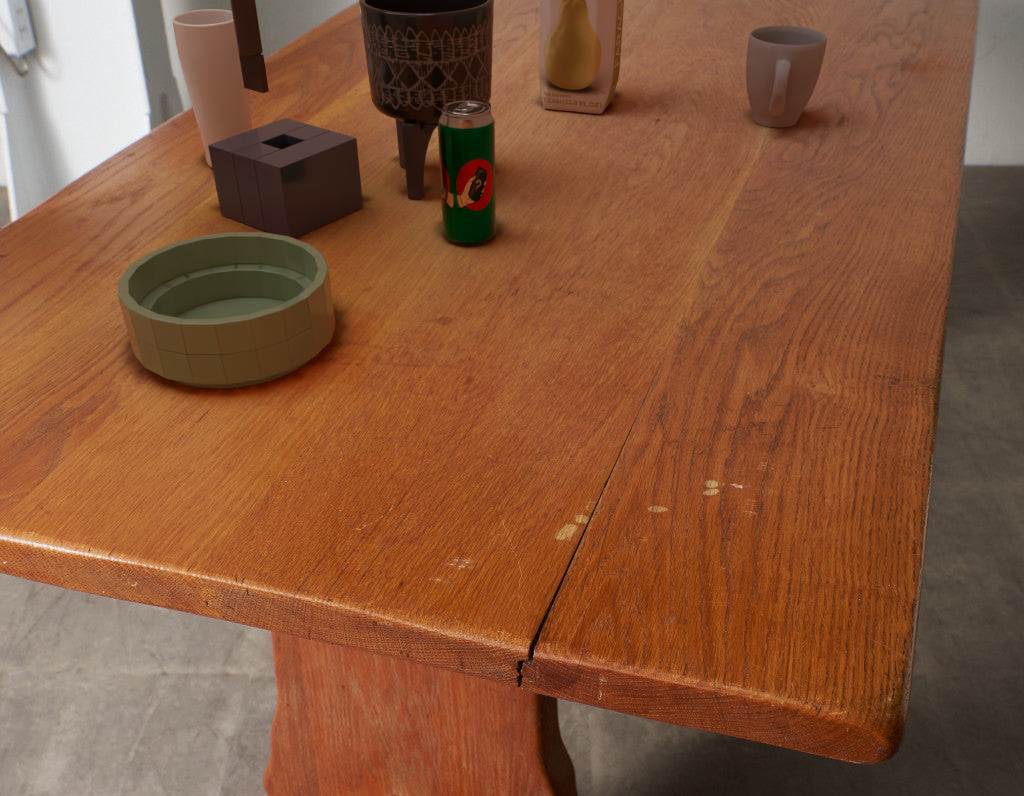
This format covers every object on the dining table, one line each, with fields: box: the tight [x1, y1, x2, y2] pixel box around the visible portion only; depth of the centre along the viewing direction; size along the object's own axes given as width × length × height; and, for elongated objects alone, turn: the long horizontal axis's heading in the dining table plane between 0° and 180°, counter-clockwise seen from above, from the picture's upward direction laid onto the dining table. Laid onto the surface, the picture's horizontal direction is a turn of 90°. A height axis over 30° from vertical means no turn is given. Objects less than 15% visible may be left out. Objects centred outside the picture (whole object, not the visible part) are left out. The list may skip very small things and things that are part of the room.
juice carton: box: [538, 0, 625, 115], centre depth 119 cm, size 9×8×24 cm
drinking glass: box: [172, 8, 253, 169], centre depth 107 cm, size 7×7×15 cm
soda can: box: [437, 101, 497, 247], centre depth 93 cm, size 5×5×12 cm
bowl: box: [117, 231, 337, 389], centre depth 79 cm, size 16×16×6 cm
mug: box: [745, 25, 828, 128], centre depth 118 cm, size 12×9×10 cm
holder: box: [208, 117, 364, 239], centre depth 99 cm, size 10×10×7 cm
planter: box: [358, 0, 495, 201], centre depth 102 cm, size 13×13×18 cm
